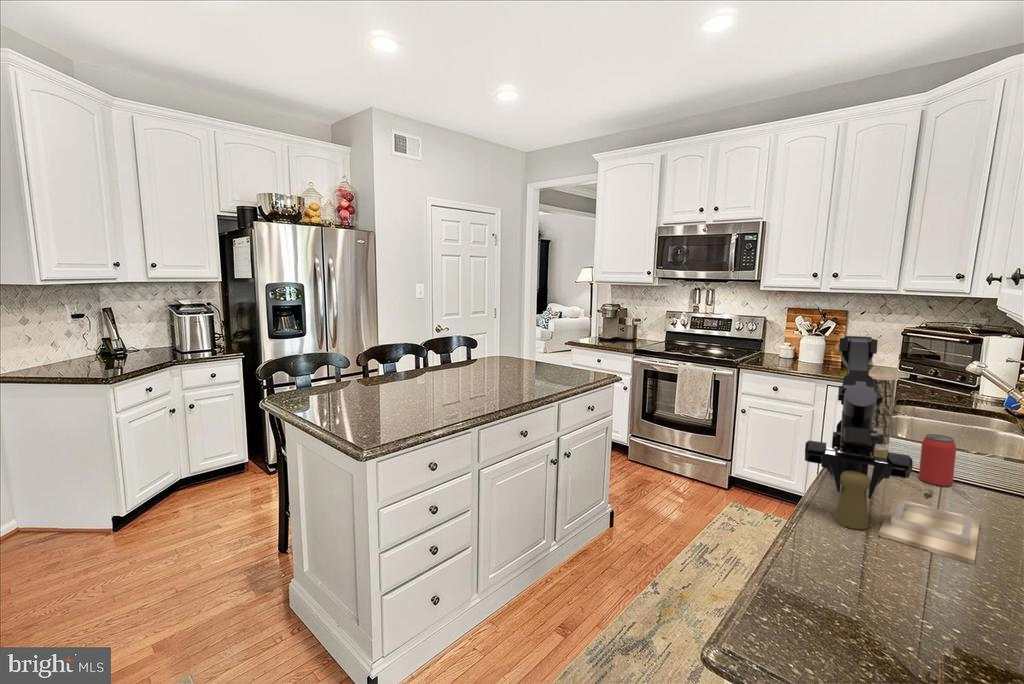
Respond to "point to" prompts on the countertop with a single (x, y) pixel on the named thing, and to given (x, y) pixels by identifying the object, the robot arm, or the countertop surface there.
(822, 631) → the countertop surface
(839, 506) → the cork
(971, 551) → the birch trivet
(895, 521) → the clear rectangular frame
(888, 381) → the brown tall cylinder
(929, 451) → the beer can
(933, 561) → the countertop surface
